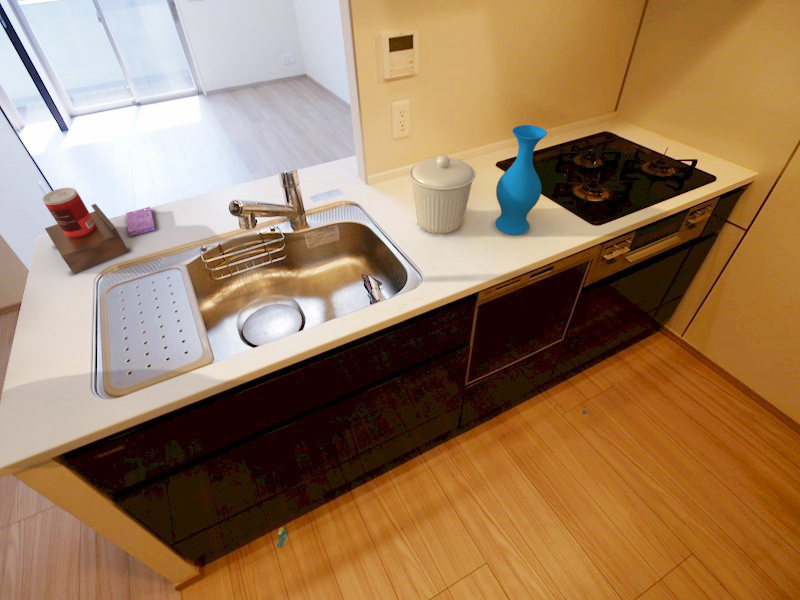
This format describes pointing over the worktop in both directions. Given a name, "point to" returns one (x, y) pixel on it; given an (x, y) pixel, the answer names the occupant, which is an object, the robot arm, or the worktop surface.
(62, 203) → the canned food
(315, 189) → the worktop surface
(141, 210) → the sponge
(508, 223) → the vase
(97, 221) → the wooden lipped board
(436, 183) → the canister
